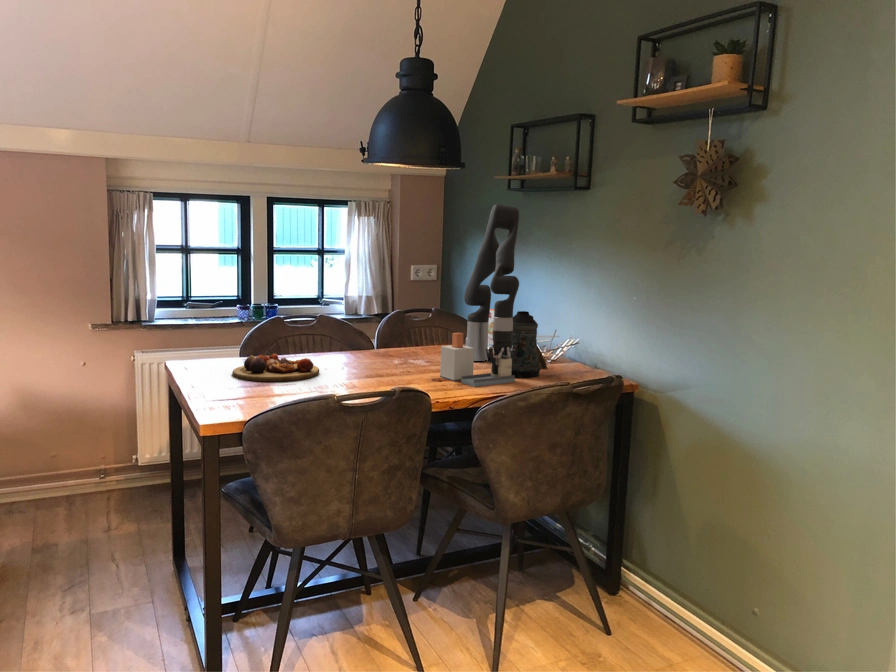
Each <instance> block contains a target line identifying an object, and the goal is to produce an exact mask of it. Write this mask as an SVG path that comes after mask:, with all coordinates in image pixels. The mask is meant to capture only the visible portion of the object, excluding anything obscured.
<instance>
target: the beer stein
mask: <svg viewBox="0 0 896 672" xmlns="http://www.w3.org/2000/svg"><path fill="white" fill-rule="evenodd" d="M538 326H539V324H538V323H537V321H536V320H535V319H534V316H533V315H531V314H530V312H529V311H526V310H523V311H520V310H518V311H517V312H516V313H515V315H513V340H512V342H511V344H512V345H514V346H518V349H517V354H516V358H515V361H513V362H512V370H511V375H515V379H533V378H538V377H539V375H540V371H541V368H540V365H539V361H538V353H537V346H538V342H537V336H538V328H539V327H538ZM510 351H511V350H510ZM512 357H513V356H512Z"/></svg>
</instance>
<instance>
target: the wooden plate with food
mask: <svg viewBox="0 0 896 672" xmlns="http://www.w3.org/2000/svg"><path fill="white" fill-rule="evenodd" d="M319 373H320V368H319V367H318V366H316V365H314V363H313V362H312V360H311V358H307V357H304V358H302V359H297V360H289V359H287V358H286V357H281V358H279V355H278V354H276V353H275V352H271V353H268V355H267V354H258V355H257V356H254V355H252V354H250V355H249V356H248V357H246V359H245V360H244V362H243V365H242V366H239V367H236V368H234V369H233V370H232V376H233V377H234V378H236V379H239V380H244V381H251V382H252V381H253V382H287V381H289V382H290V381H299V380H305V379H309V378H312V377H316V376H318V375H319Z"/></svg>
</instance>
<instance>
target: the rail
mask: <svg viewBox="0 0 896 672" xmlns="http://www.w3.org/2000/svg"><path fill="white" fill-rule="evenodd" d="M460 382H461V384H464V385H467V386H471V387H474V388H476V387H483V386H484V387H485V386H493V385H502V384H509V383H510V384H511V383H515V382H516V378H515V375H511V376H502V377H495V376H491V372H489V373H478V374H473V375H468V376H462V380H461V381H460Z"/></svg>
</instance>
